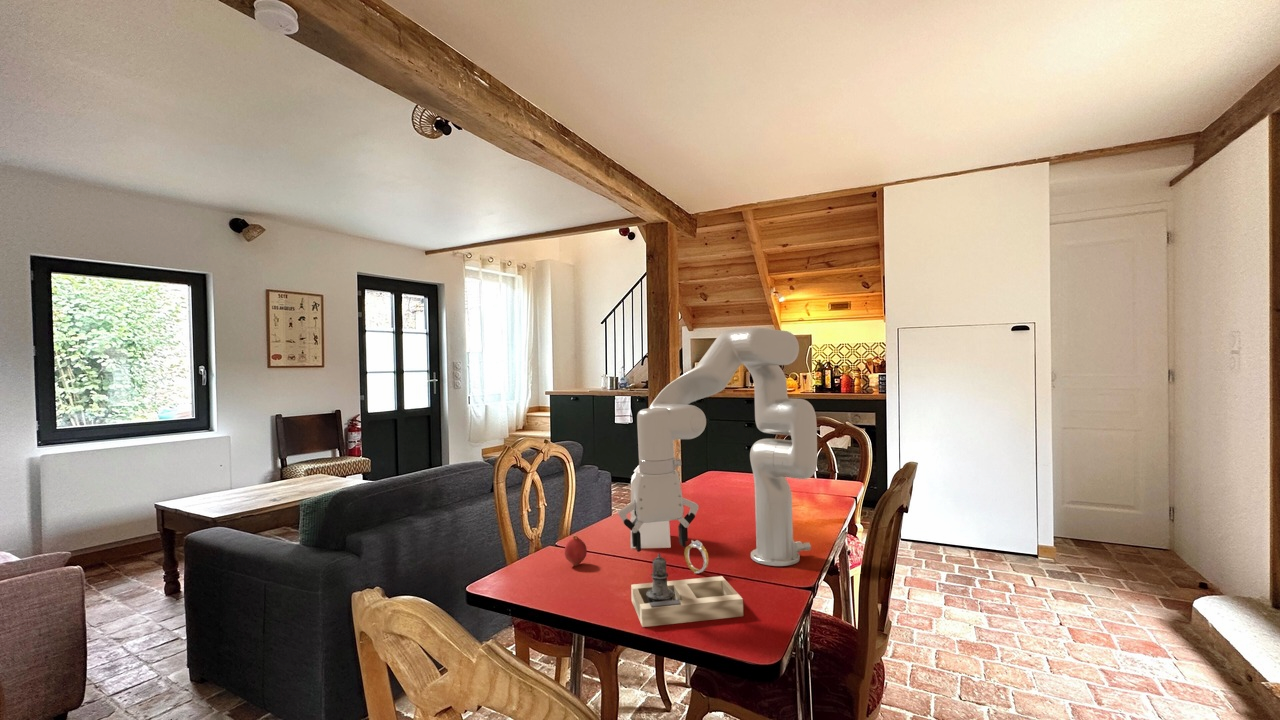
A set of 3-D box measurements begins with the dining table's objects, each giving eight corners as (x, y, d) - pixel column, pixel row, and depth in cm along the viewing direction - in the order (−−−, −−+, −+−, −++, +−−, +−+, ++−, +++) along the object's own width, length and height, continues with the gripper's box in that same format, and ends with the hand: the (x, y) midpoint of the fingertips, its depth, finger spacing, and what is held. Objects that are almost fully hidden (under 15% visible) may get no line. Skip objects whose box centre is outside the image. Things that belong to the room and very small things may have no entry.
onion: (565, 562, 148) (564, 532, 148) (587, 561, 149) (586, 531, 149) (564, 570, 142) (563, 538, 143) (586, 568, 143) (586, 537, 143)
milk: (670, 547, 158) (668, 456, 159) (630, 548, 159) (628, 457, 159) (669, 535, 170) (667, 450, 171) (631, 536, 171) (629, 451, 171)
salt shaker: (672, 617, 114) (670, 558, 114) (644, 615, 115) (642, 557, 115) (676, 605, 119) (674, 549, 120) (649, 603, 121) (648, 548, 121)
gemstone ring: (711, 575, 136) (710, 542, 136) (701, 578, 134) (700, 545, 135) (691, 567, 142) (690, 536, 142) (682, 570, 140) (681, 538, 140)
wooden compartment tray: (722, 591, 126) (722, 575, 126) (743, 616, 113) (742, 597, 114) (631, 600, 122) (631, 583, 123) (642, 627, 110) (641, 608, 110)
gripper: (691, 460, 123) (694, 537, 123) (614, 466, 120) (617, 545, 120) (701, 466, 116) (704, 548, 116) (619, 473, 112) (622, 557, 112)
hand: (660, 547), depth 118 cm, fingers open, 9 cm apart
